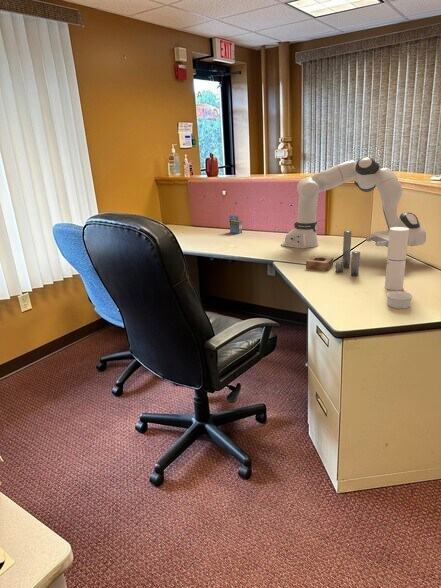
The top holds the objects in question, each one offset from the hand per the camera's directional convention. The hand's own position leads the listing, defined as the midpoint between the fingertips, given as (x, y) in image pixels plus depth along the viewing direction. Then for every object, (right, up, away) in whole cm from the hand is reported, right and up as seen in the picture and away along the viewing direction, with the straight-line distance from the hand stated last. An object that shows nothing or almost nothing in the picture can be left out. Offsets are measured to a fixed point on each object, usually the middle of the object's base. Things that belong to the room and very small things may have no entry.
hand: (371, 241), depth 203 cm
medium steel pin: (-11, -17, -10) cm, 23 cm away
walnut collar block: (-24, -12, +5) cm, 28 cm away
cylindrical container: (-1, -23, -28) cm, 36 cm away
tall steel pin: (-12, -12, +2) cm, 17 cm away
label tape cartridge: (-63, +18, +96) cm, 116 cm away
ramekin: (-7, -30, -46) cm, 56 cm away
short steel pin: (-17, -15, -3) cm, 23 cm away
